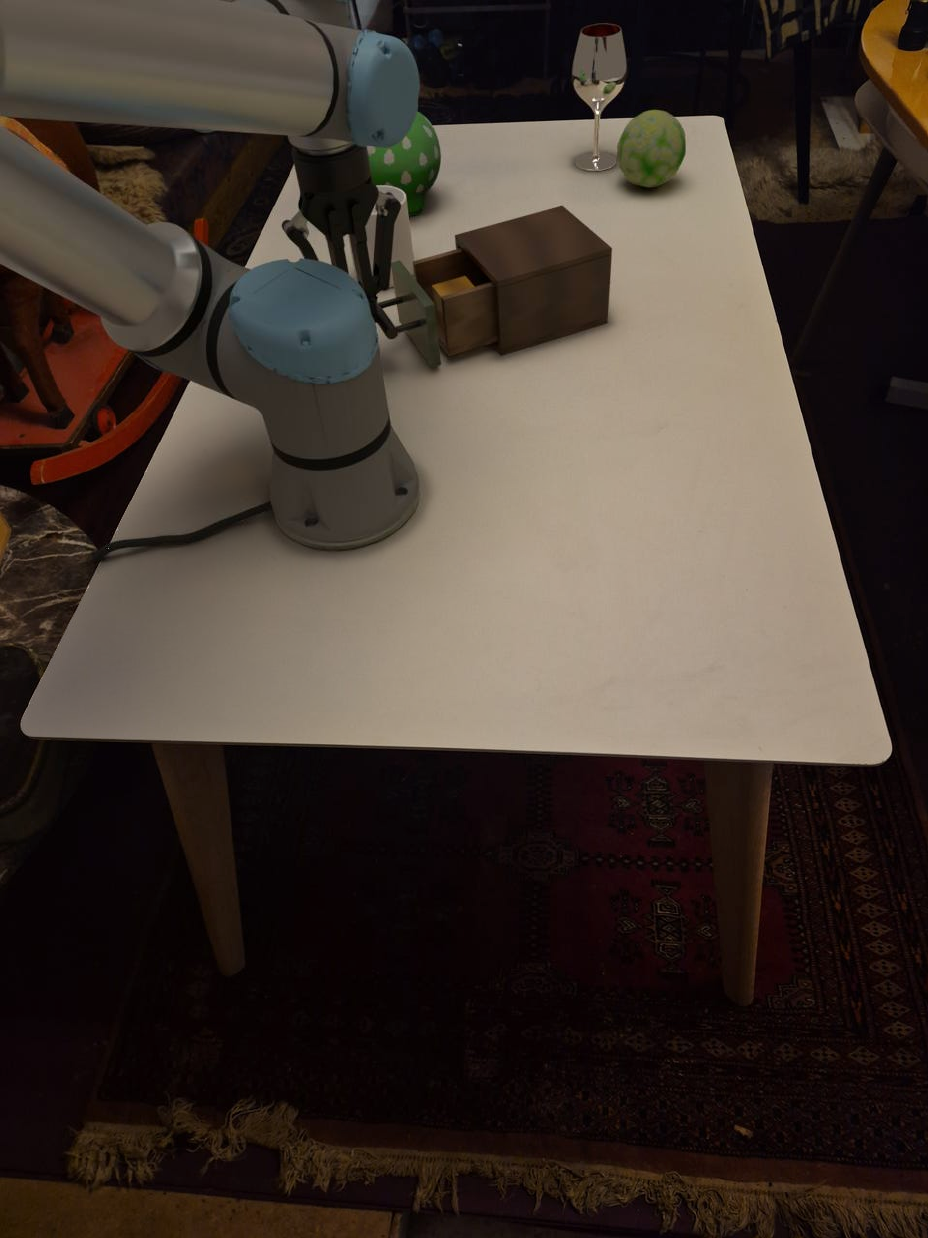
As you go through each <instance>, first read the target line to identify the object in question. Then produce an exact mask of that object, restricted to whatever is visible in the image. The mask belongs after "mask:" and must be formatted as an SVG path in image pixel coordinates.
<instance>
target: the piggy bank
mask: <svg viewBox="0 0 928 1238" xmlns="http://www.w3.org/2000/svg"><path fill="white" fill-rule="evenodd" d="M367 150H368V156H369V163H370V169H371V177H372V180H373V182H374V184H375V185H376V186H379V185H384V186H393V187H396V188H399V189H401V190H402V191H403V192H404V193H405V194H406V199H407V207H408V215H409V217H411V216H418V215H420V214H421V213H422V212H423V210H424V208H425V206H426V196H427V193H428V192H429V191H430V190H431V189H432V188H433V186H434V185H435V182H436V181H437V179H438V175H439V174H440V169H441V162H442V152H441V146H440V140H439V138H438V135H437V131H436V129H435V128H434V126H433V124H432V122H430V120H429V119H428V118H427V117H426V116H425V115H423V113H421V112H419V111H418V110H417V114H416V117H415V120H414V123H413V125H412V127H411V129H410V131H409V132H408V134H407V135H406V136H405V138H404V139H403V140H401V141H400V142H399V143H398V144H396V145H394V146H392V147H388V148H380V147H374V146H367Z"/></svg>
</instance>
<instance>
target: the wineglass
mask: <svg viewBox="0 0 928 1238" xmlns="http://www.w3.org/2000/svg"><path fill="white" fill-rule="evenodd" d="M622 30H623V29H622V28H621V27H620V26H619V25H617V24H613V23H595V24H590V25H587V26H585V27H583V28H581V29H580V33H579V36H578V40H577V45H576V49H575V52H574V58H573V61H572V65H571V66H572V67H571V71H570V72H571V74H570V75H571V76H570V78H571V79H570V80H571V84H572V87H573V89H574V91H575V93H576V94H577V95H578V97H579V98H580V99H581V100H582V101H583V102H584V103H585V104H587V105H588V106H589V107H590V108H591V110H592V112H593V113H594V131H593V150H592V152H588V153H585V154H582V155H580V156H578V157H577V158H576V160H575V166H576V167H577V168H578V169H580V170H583V171H586V172H601V171H606V170H609V169H612V168H613V167H614V166H615V165H616V164H617V157H615V156H614V155H613V154H610V153H607V152H600V126H601V115H602V112H603V111H604V109H605V108H606V107H607V105H608V104H609V103H610V102H612V101H613V100H614V99H615V98H616V97H617V96H618V95H619V94H620V92H621V91H622V89H623V88H624V86H625V85H626V81H627V79H628V60H627V54H626V47H625V42H624V36H623V31H622Z"/></svg>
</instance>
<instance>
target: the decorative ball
mask: <svg viewBox="0 0 928 1238" xmlns="http://www.w3.org/2000/svg"><path fill="white" fill-rule="evenodd" d="M686 142H687V141H686V133H685V129H684V128H683V126H682V123H681V122H680V120H678V119H677V117H675V116H674V115H672V114H670V113H669V112H668V111H664V110H659V109H651V110H650V109H649V110H647V111H643V112H642V113H640V114H638V115H636V116H635V117H633V118H631V120H629V122H628V123H627V124H626V125H625V127H624V129H623V131H622V133H621V135H620V137H619V140H618V142H617V147H616V148H617V149H616V151H617V152H616V161H617V163H618V167H619V170H620V171H621V173H622V174H623V175H624V177H625V178H626V179H627V181H629V182H630V183H631V184H633V185H636V186H640V187H643V188H648V189H649V188H656V187H659V186H661V185H663V184H665V183H668V181H670V180H671V179H672V178H673V177H674V176H675V175H676V174H677V173H678V171H679V169H680V167H681V166H682V163H683V161H684V159H685V156H686V154H687V153H686V152H687V143H686Z"/></svg>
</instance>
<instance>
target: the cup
mask: <svg viewBox="0 0 928 1238" xmlns="http://www.w3.org/2000/svg"><path fill="white" fill-rule="evenodd" d="M377 188H378V191H380V192H382V193H387V192H390V193H392V194H393V195H394V196H395V197H396V199H397V200H398V201H399V202H400V203H401V209H400V212H399V214H398V216H397V219H396V221H395V224H394V236H393V248H392V260H391V263H392V262H395V261H399V260H400V261H401V262H402V264H403V265H404V266H405V267H406V269H407V270H408V271H409V272H410V274H411V275H412V276H414V270H413V261H415V257H414V256H415V255H414V249H413V247H414V246H413V240H412V232H411V225H410V224H411V223H410V216H409V215H408V207H407V199H406V194H405V193H404V192H403V191H402V190H401V189H399V188H396V187H393V186H384V185H379V186H377ZM375 206H376V204H375ZM375 206H374V209H373V211H372V213H371V215H370V218H369V220H368V222H367V225H366V226H365V229H366V235H367V247H368V253H369V259H370V265H371V271H372V275H373V260H374V245H375V230H376V217H377V211H376V209H375ZM347 237H348V243H349V249H350V254H351V260H352V266H353V272H354V275H355V277H356V278H357V275H356V270H355V265H354V259H353V254H352V248H351V243H350V238H349V234H347ZM390 288H394V282H393V275H392V268H391V272H390V284H389V288H388V289H390Z"/></svg>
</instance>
